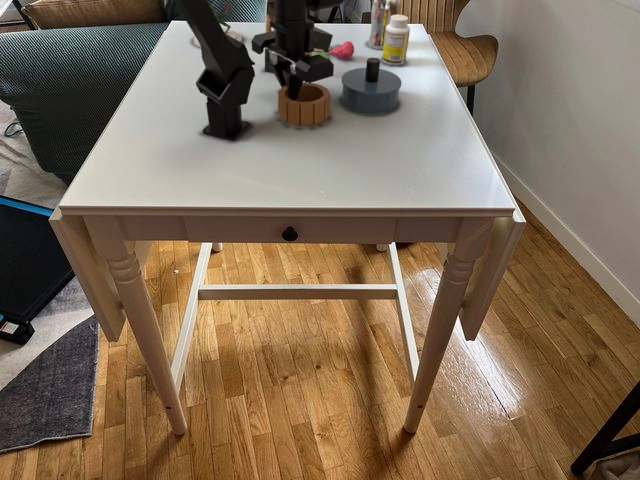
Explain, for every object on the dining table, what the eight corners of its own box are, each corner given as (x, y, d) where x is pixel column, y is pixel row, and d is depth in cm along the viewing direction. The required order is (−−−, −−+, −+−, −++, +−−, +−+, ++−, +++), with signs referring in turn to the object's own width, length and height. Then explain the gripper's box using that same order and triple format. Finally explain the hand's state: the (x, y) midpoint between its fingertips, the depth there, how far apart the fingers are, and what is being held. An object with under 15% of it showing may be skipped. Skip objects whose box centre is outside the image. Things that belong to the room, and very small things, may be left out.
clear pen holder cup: (362, 47, 123) (369, -18, 113) (370, 38, 128) (377, -25, 117) (389, 52, 121) (398, -14, 111) (396, 42, 126) (405, -21, 116)
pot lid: (391, 103, 92) (395, 77, 88) (332, 91, 95) (334, 65, 91) (407, 79, 100) (411, 54, 97) (352, 68, 103) (354, 44, 100)
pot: (388, 120, 95) (391, 99, 92) (334, 108, 98) (335, 87, 95) (402, 96, 103) (405, 76, 100) (352, 86, 105) (353, 66, 103)
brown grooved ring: (317, 129, 90) (318, 108, 87) (270, 119, 93) (269, 98, 90) (336, 107, 97) (337, 87, 94) (291, 98, 99) (291, 78, 97)
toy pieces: (362, 50, 121) (364, 32, 118) (346, 66, 113) (347, 47, 110) (319, 42, 124) (319, 24, 121) (300, 57, 117) (300, 38, 114)
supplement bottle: (394, 55, 119) (401, 11, 112) (409, 63, 116) (417, 18, 109) (377, 59, 117) (382, 15, 110) (391, 68, 114) (398, 22, 107)
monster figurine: (192, 33, 126) (186, -10, 119) (238, 31, 128) (235, -12, 121) (195, 51, 117) (188, 5, 110) (244, 48, 119) (241, 3, 113)
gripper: (360, 22, 84) (352, 105, 95) (296, -5, 95) (296, 72, 105) (309, 35, 79) (307, 121, 89) (247, 4, 89) (252, 85, 100)
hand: (291, 98), depth 96 cm, fingers closed on brown grooved ring
